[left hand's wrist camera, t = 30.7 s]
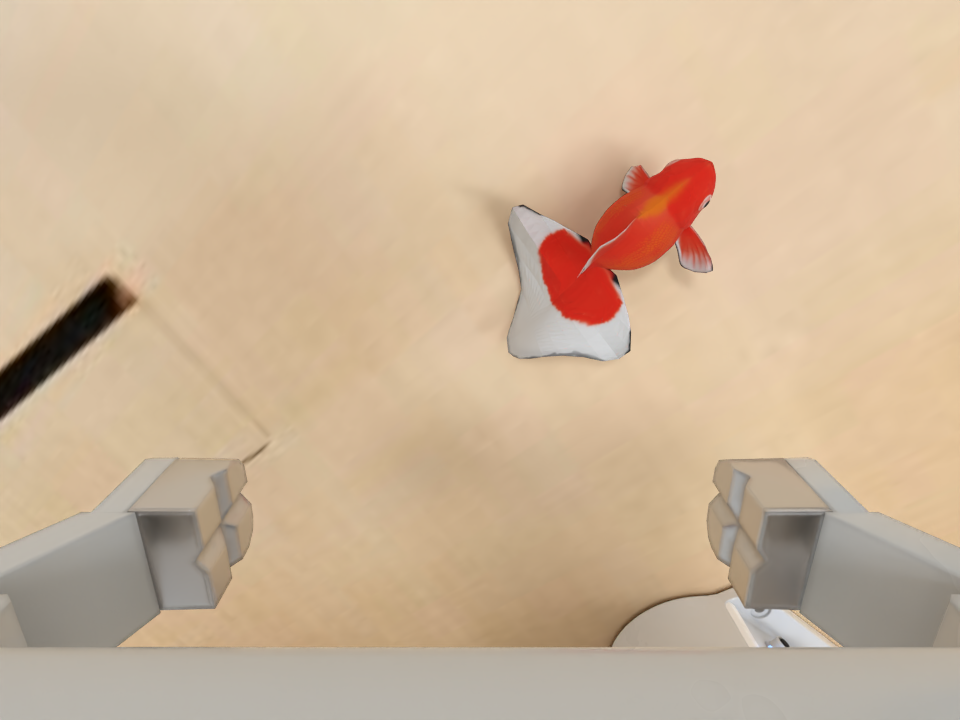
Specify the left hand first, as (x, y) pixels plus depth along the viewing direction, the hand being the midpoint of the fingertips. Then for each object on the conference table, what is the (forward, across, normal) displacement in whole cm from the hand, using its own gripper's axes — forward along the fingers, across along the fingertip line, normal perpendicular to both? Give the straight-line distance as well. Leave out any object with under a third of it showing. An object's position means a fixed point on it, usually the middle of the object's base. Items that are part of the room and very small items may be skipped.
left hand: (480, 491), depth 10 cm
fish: (+30, +7, -2) cm, 31 cm away
